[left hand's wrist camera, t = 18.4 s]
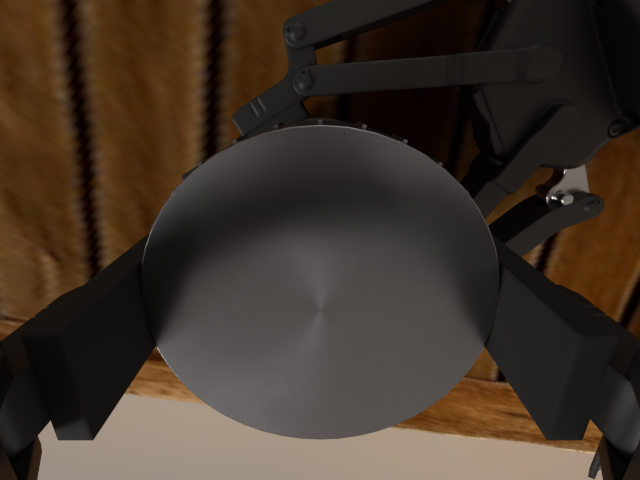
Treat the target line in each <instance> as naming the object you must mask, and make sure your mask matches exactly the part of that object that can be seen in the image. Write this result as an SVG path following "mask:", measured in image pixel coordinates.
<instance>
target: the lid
mask: <svg viewBox="0 0 640 480" xmlns="http://www.w3.org/2000/svg"><path fill="white" fill-rule="evenodd" d="M232 142H233V143H234V144H233V145H232V146H230V147H228V148H226V149H224V150H222V151H220V152H218V153H217V154H214V155H212V156H210V157H209V158H207V159H205V160H203V161H201V162H199V163H198V166H199V167H197V168H196V169H194V170H193V171H192V172H191V173H190V174H189V175H188V176H187V177H186V178H185V179H184V180H183V181H182V182H181V183H180V184H179V185H178V186H177V188H176V189H175V190H174V191H172V193H171V196H170V197H169V198H168V200H167V201H166V202H165V204H164V205H163V207H162V208H161V210H160V212H159V214H158V216H157V218H156V220H155V222H154V224H153V226H152V228H151V231H150V234H149V237H148V240H147V243H146V246H145V250H144V256H143V261H142V267H141V296H142V303H143V308H144V313H145V317H146V321H147V325H148V328H149V331H150V333H151V335H152V338H153V340H154V342H155V344H156V347H157V349H158V350H159V352H160V354H161V355H162V357H163V358H164V360H165V362H166V363H167V365H168V366H169V367H170V369H171V370H172V371H173V372H174V374H175V375H176V376H177V377H178V379H179V380H180V381H181V382H182V383H183V384H184V385H185V386H186V387H187V388H188V389H189V390H190V391H191V392H192V393H193V394H195V395H196V396H197V397H199V398H200V399H201V400H202V401H204V402H205V403H206V404H208V405H209V406H210V407H212V408H214V409H215V410H217V411H219V412H220V413H222V414H224V415H225V416H227V417H229V418H231V419H233V420H236V421H238V422H240V423H242V424H244V425H247V426H250V427H253V428H255V429H258V430H261V431H265V432H269V433H273V434H277V435H281V436H288V437H295V438H303V439H338V438H346V437H353V436H360V435H364V434H368V433H372V432H376V431H379V430H382V429H385V428H388V427H391V426H394V425H396V424H399V423H401V422H403V421H405V420H407V419H409V418H411V417H414V416H415V415H417V414H419V413H420V412H422V411H424V410H425V409H427V408H429V407H430V406H432V405H433V404H434V403H436V402H437V401H438V400H439V399H441V398H442V397H443V396H445V395H446V394H447V393H448V392H449V391H450V390H451V389H452V388H453V387H454V386H455V385H456V384H457V383H458V382H459V381H461V379H462V378H463V377H464V376H465V374H466V373H467V372H468V371H469V369H470V368H471V367H472V366H473V364H474V363H475V361H476V359H477V358H478V356H479V355H480V353H481V351H482V350H483V348H484V346H485V344H486V341H487V339H488V337H489V335H490V332H491V330H492V327H493V323H494V319H495V315H496V310H497V305H498V300H499V293H500V273H499V264H498V258H497V252H496V247H495V244H494V241H493V238H492V235H491V232H490V229H489V226H488V224H487V223H486V221H485V219H484V217H483V215H482V213H481V211H480V209H479V207H478V206H477V204H476V203H475V202H474V200H473V199H472V198H471V196H470V195H469V192H468V191H467V190H466V189H465V188H464V187H463V186H462V185H461V184H460V183H459V182H458V181H457V180H456V179H455V178H454V177H453V176H452V175H451V174H450V173H449V172H448V171H447V170H446V169H445V168H443V167H442V165H443V164H442V163H441V162H440V161H438V160H436V159H434V158H432V157H430V156H428V155H426V154H424V153H422V152H420V151H418V150H417V149H415V148H413V147H411V146H409V145H407V142H408V140H406V139H404V138H402V137H400V136H397V135H395V134H393V135H392V136H390V135H388V134H386V133H383V132H380V131H377V130H375V129H372V128H369V127H367V125H365V124H363V123H362V122H359V121H357V123H356V124H353V123H348V122H343V121H328V120H322V117H318V120H312V121H298V122H293V123H288V124H284V122H283V121H281V122H279V123H277V124H275V125H273V127H271V128H269V129H266V130H263V131H260V132H258V133H255V134H253V135H251V136H248V134H245V135H243V136H241V137H239V138H237V139H235V140H233V141H232Z"/></svg>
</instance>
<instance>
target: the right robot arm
mask: <svg viewBox="0 0 640 480" xmlns="http://www.w3.org/2000/svg"><path fill="white" fill-rule="evenodd" d="M448 1H449V0H334V1H331V2H329V3H326V4H323V5H321V6H318V7H315V8H313V9H310V10H307V11H305V12H302V13H299V14H296V15H294V16H292V17H290V18H289V19H287V21H286V22H285V24H284V27H283V36H284V39H285V44H286V49H287V54H288V60H289V69H288V72H287V75H286V76H285V78H284V79H283V80H282V81H280V82H279V83H277V84H276V85H274V86H273V87H271V88H270V89H268V90H266V91H265V92H263V93H262V94H260V95H259V96H257V97H256V98H254V99H253V100H251V101H250V102H248V103H246V104H245V105H243V106H242V107H240V108H239V109H238V110H237V111H236V113H235V114H234V116H233V117H232V121H233V122H234V124H235V125H236V127H237V128H238V130H239V132H240V133H241V135H242V136H243V135H245V134H248V136H251V135H253V134H255V133H258V132H260V131H263V130H266V129H269V128H271V127H273V125H275V124H277V123H279V122H281V121H283V122H284V124H288V123H293V122H298V121H303V120H304V119H306V118H308V117H309V113H308V111H307V109H306V107H305V106H304V104H303V101H305V100H306V99H308V98H310V97H313V96H327V95H340V94H354V93H367V92H381V91H394V90H407V89H421V88H435V87H449V86H460V93H459V94H457V98H458V100H459V102H460V105H461V107H462V109H463V111H464V112H465V113H466V114H467V115H468V117H469V118H470V119H471V121H472V126H473V135H474V139H475V141H476V144H477V146H478V149H479V150H481V151H480V153H479V154H478V155H477V156H476V158H475V159H474V160H473V161H472V163H471V164H470V166H469V171H468V173H467V175H466V176H465V177H464V178H463V180H462V181H461V182H460V184H461V185H462V186H463V187H464V188H465V189H466V190H467V191H468V192H469V195H470V196H471V198H472V199H473V200H474V202H475V203H476V204H477V206H478V207H479V209H480V211H481V213H482V215H483V217H484V219H486V218H487V217H488V215H489V214H490V213H491V212H492V211H493V210H494V209H495V207H496V206H497V205H498V204H499V203H500V202H501V201H502V199H503V198H504V197H505V196H507V195H509V194H512V193H514V192H516V191H517V190H518V189H519V188H520V187H521V186H522V185H523V184H524V183H525V182H526V180H527V179H528V178H529V177H530V176H531V175H532V174H533V173H534V171H535V170H536V169H537V168H538V167H547V168H553V169H554V171H553V174H552V176H551V178H550V179H549V180H548V181H546V182H545V183H543V184H539V185H538V186H537V187H536V189H535V192H536V193H537V194H535V195H533V196H530V197H528V198H527V199H525V200H523V201H521V202H520V203H518V204H517V205H515V206H514V207H513V208H511V209H510V210H509V211H507V212H506V213H505V214H503V215H502V216H501V217H499V218H498V219H497V220H495V221H494V222H493V223H491V224H490V225H489V229H490V232H491V234H492V235H494V236H495V237H496V238H497V239H499V240H500V241H501V242H502V243H504V244H505V245H506V246H508V247H509V248H510V249H511V250H513V251H514V252H515V253H516V254H518V255H519V256H520V257H522V256H523V255H525V254H526V253H528V252H529V251H530V250H532V249H533V248H535V247H536V246H538V245H539V244H540V243H542V242H543V241H545V240H546V239H547V238H549V237H550V236H552V235H553V234H554V233H556V232H557V231H559V230H561V229H564V228H567V227H569V226H572V225H575V224H578V223H581V222H583V221H586V220H589V219H592V218H594V217H596V216H598V215H599V214H600V213H601V212H602V210H603V208H604V201H603V199H602V198H601V197H600V196H597V195H595V194H592V193H590V192H589V188H588V181H587V174H586V168H585V164H586V163H587V162H589V161H590V160H591V159H592V158H593V157H594V156H595V154H596V153H597V152H598V151H599V150H600V149H601V148H602V147H603V146H604V145H605V144H606V143H608V142H609V141H611V140H612V139H614V138H617V137H619V136H622V135H624V134H627V133H629V132H632V131H634V130H637V129H639V128H640V0H493V1H494V2H496V3H497V5H498V6H499V7H498V8H497V10H496V12H495V14H494V16H493V18H492V19H491V21H490V23H489V25H488V27H487V29H486V31H485V33H484V35H483V36H482V38H481V40H480V42H479V44H478V46H477V48H476V49H475V51H474V52H470V53H460V54H454V55H445V56H432V57H419V58H406V59H393V60H380V61H367V62H354V63H341V64H328V65H317V60H316V54H315V50H318V49H320V48H323V47H326V46H329V45H332V44H334V43H337V42H340V41H343V40H345V39H348V38H351V37H354V36H357V35H359V34H362V33H365V32H368V31H371V30H373V29H376V28H379V27H382V26H385V25H387V24H390V23H393V22H396V21H398V20H401V19H404V18H407V17H410V16H412V15H415V14H418V13H421V12H424V11H426V10H429V9H432V8H435V7H437V6H439V5H442V4H444V3H446V2H448ZM466 1H467V2H468V3H472V4H474V3H478V2H480V1H483V0H466ZM233 144H234V143H233ZM233 144H231V145H230V146H232V145H233ZM230 146H228V147H230ZM228 147H227V148H228ZM225 149H226V148H225ZM223 150H224V149H223ZM503 162H504V163H503ZM502 163H503V164H502ZM197 167H199V166H196V167H195V168H193V169H192V170H190V171H189V172H187V173H185V174H184V175H182V177H183V179H185V178H186V177H187V176H188V175H189V174H190V173H191V172H192V171H193V170H194V169H196V168H197Z"/></svg>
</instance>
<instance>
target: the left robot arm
mask: <svg viewBox="0 0 640 480" xmlns="http://www.w3.org/2000/svg"><path fill="white" fill-rule="evenodd" d="M149 234H150V233H149ZM149 234H148V235H147V236H145V237H144V238H143V239H142V240H140V241H139V242H138V243H137V244H135V245H134V246H133V247H131V248H130V249H129V250H128V251H126V252H125V253H124V254H123V255H121V256H120V257H119V258H117V259H116V260H115V261H114V262H112V263H111V264H110V265H109V266H107V267H106V268H105V269H104V270H102V271H101V272H100V273H98V274H97V275H96V276H95V277H93V278H92V279H91V280H90V281H88V282H87V283H86V284H84V285H83V286H80V287H78V288H76V289H74V290H72V291H70V292H67V293H65V294H63V295H61V296H60V297H59V298H57V299H56V300H55V301H53V302H52V303H51V304H49V305H48V306H47V308H44V309H43V310H41V311H40V312H39V313H37V314H36V315H35V318H31V319H30V320H28V321H27V322H26V323H24V324H23V325H22V326H20V327H19V328H18V329H16V330H15V331H14V332H12V333H11V334H10V335H9V336H7V337H6V338H5V339H3V340H2V341H0V480H37V477H38V471H39V466H40V460H41V454H42V449H41V443H40V441H39V438H38V434H39V433H40V432H41V431H42V430H43V429H44V427H45V426H46V425H47V424H48V423H49V421H50V420H51V422H52V425H53V428H54V430H55V433H56V436H57V438H58V440H93V439H94V438H95V437H96V435H97V434H98V432H99V431H100V429H101V428H102V426H103V425H104V423H105V422H106V420H107V418H108V417H109V415H110V414H111V413H112V411H113V410H114V408H115V407H116V405H117V404H118V402H119V400H120V399H121V397H122V396H123V394H124V393H125V391H126V390H127V388H128V387H129V385H130V384H131V382H132V381H133V379H134V378H135V376H136V375H137V373H138V372H139V370H140V369H141V367H142V366H143V364H144V363H145V361H146V360H147V358H148V357H149V355H150V354H151V352H152V351H153V349H154V348H155V346H156V344H155V342H154V340H153V338H152V335H151V333H150V331H149V328H148V325H147V321H146V317H145V313H144V308H143V303H142V296H141V267H142V261H143V256H144V250H145V246H146V243H147V240H148V237H149ZM491 235H492V234H491ZM492 238H493V241H494V244H495V247H496V252H497V258H498V264H499V273H500V293H499V300H498V305H497V310H496V315H495V319H494V323H493V327H492V330H491V332H490V335H489V337H488V339H487V341H486V344H485V348H486V349H487V351H488V352H489V354H490V355H491V357H492V358H493V360H494V361H495V363H496V364H497V366H498V367H499V369H500V370H501V372H502V373H503V375H504V376H505V378H506V379H507V381H508V382H509V384H510V385H511V387H512V388H513V390H514V391H515V393H516V394H517V396H518V397H519V399H520V400H521V402H522V403H523V405H524V406H525V408H526V409H527V411H528V412H529V414H530V415H531V417H532V418H533V420H534V421H535V423H536V424H537V426H538V427H539V429H540V430H541V432H542V433H543V435H544V436H545V438H546V439H547V440H582V439H583V437H584V434H585V431H586V428H587V426H588V423H589V420H590V419H591V420H592V421H593V423H594V424H595V425H596V426H597V427H598V429H599V430H600V431H601V432H602V433H603V435H602V438H601V441H600V443H599V446H598V448H597V451H596V453H595V456H594V458H593V461H592V464H591V466H590V469H589V475H588V477H590V478H593V479H595V477H596V474H597V472H598V470H600V469H601V470H602V476H603V480H640V339H638V338H637V337H636V336H634V335H633V334H632V333H630V332H629V331H628V330H626V329H625V328H624V327H622V326H621V325H620V324H618V323H617V322H616V321H614V320H613V319H612V318H610V317H609V316H606V314H605V313H604V312H602V311H601V310H600V309H599V308H597V307H594V305H593V304H592V303H591V302H589V301H588V300H587V299H585V298H584V297H583V296H581V295H580V294H578V293H576V292H574V291H572V290H570V289H567V288H565V287H563V286H561V285H556V284H555V283H553V282H552V281H551V280H549V279H548V278H547V277H546V276H544V275H543V274H542V273H541V272H539V271H538V270H537V269H535V268H534V267H533V266H532V265H530V264H529V263H528V262H527V261H525V260H524V259H523V258H522V257H520V256H519V255H518V254H516V253H515V252H514V251H513V250H511V249H510V248H509V247H508V246H506V245H505V244H504V243H502V242H501V241H500V240H499V239H497V238H496V237H495V236H494V235H492Z"/></svg>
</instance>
